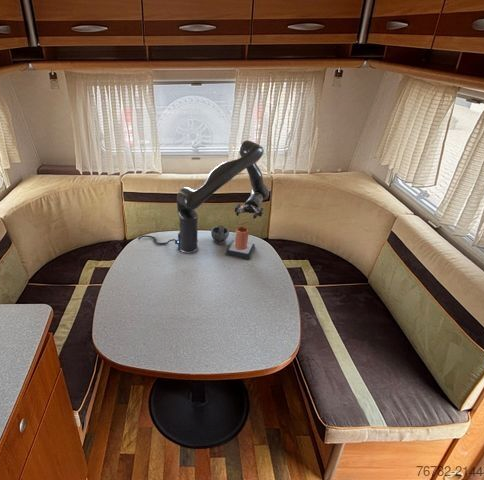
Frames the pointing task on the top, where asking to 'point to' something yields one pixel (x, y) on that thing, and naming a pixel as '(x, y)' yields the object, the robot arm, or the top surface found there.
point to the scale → (240, 251)
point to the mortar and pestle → (220, 234)
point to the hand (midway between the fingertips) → (245, 215)
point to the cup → (241, 238)
